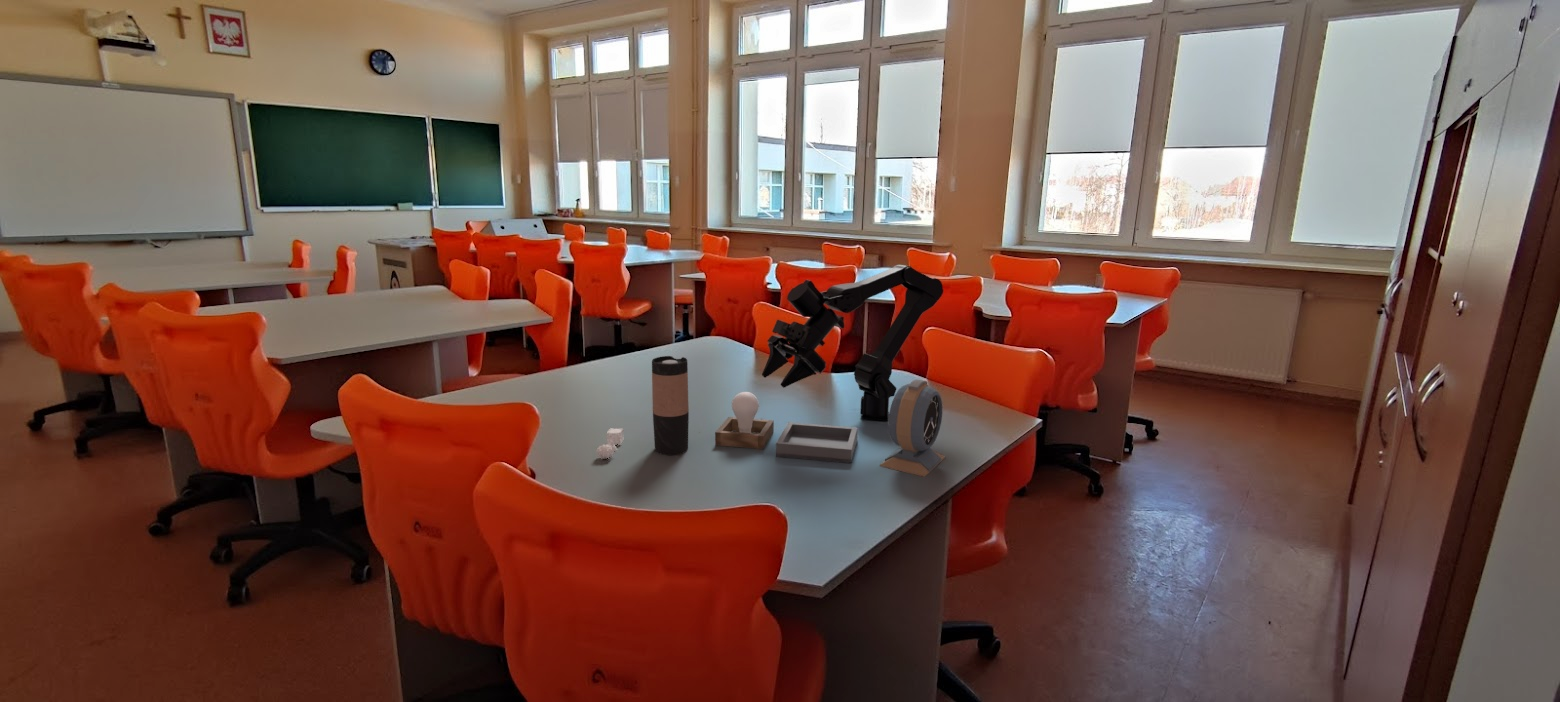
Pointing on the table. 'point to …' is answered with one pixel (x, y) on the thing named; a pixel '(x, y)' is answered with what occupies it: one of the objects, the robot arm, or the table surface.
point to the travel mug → (670, 404)
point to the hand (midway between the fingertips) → (772, 381)
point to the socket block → (744, 434)
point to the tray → (817, 442)
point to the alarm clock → (915, 428)
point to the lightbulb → (745, 410)
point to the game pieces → (610, 443)
